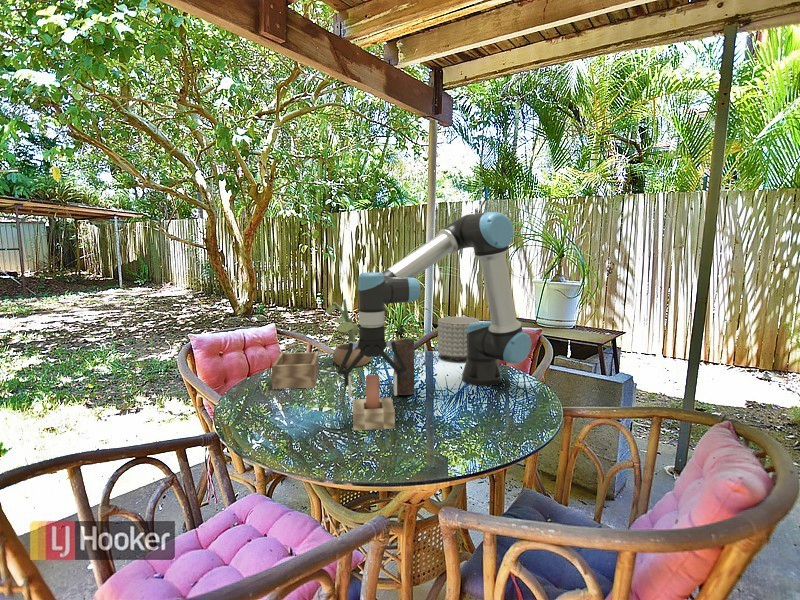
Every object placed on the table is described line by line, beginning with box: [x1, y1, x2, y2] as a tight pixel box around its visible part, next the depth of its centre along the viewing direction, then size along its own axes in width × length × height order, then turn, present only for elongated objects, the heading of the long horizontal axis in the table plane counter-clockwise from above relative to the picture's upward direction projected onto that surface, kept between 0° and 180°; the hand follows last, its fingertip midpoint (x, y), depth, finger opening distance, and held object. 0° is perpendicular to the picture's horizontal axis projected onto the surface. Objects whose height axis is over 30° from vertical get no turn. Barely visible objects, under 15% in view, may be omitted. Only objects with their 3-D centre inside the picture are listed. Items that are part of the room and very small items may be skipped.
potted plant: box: [325, 298, 372, 368], centre depth 197 cm, size 22×18×30 cm
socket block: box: [352, 397, 396, 431], centre depth 134 cm, size 12×12×5 cm
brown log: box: [393, 338, 415, 396], centre depth 157 cm, size 8×7×20 cm
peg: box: [365, 374, 381, 409], centre depth 134 cm, size 4×4×14 cm
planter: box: [437, 316, 480, 361], centre depth 208 cm, size 19×19×18 cm
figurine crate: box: [271, 351, 320, 389], centre depth 175 cm, size 15×19×9 cm
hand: (372, 395), depth 134 cm, fingers open, 13 cm apart
